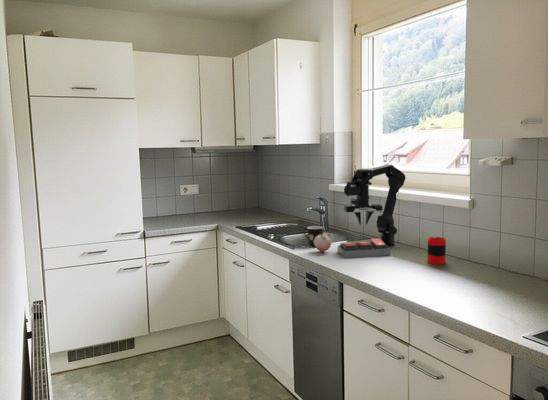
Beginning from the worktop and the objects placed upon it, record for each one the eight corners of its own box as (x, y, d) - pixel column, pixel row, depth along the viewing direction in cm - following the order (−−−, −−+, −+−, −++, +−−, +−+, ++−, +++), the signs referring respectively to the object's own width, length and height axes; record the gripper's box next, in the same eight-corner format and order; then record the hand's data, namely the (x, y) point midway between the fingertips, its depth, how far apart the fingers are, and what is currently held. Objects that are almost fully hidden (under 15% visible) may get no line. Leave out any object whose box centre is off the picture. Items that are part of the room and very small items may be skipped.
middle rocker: (365, 244, 234) (365, 241, 234) (370, 244, 226) (370, 242, 226) (356, 244, 234) (356, 242, 234) (361, 245, 226) (361, 242, 226)
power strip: (381, 249, 238) (381, 240, 237) (390, 255, 226) (390, 245, 226) (337, 252, 235) (337, 242, 235) (344, 258, 223) (344, 248, 223)
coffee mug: (326, 246, 248) (326, 228, 247) (311, 248, 245) (311, 229, 244) (316, 242, 259) (316, 224, 257) (302, 244, 256) (302, 226, 254)
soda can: (430, 265, 208) (430, 238, 206) (425, 260, 215) (425, 235, 214) (447, 264, 208) (448, 238, 206) (442, 260, 215) (442, 234, 213)
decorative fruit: (334, 253, 234) (334, 233, 232) (320, 255, 230) (320, 235, 229) (325, 249, 242) (324, 230, 241) (311, 251, 239) (310, 232, 237)
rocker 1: (350, 245, 233) (350, 242, 233) (355, 245, 225) (355, 243, 226) (342, 245, 233) (341, 242, 233) (346, 246, 225) (346, 243, 225)
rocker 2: (379, 240, 235) (379, 238, 235) (385, 246, 228) (385, 244, 227) (371, 241, 235) (371, 238, 234) (376, 247, 227) (376, 244, 227)
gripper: (375, 191, 244) (375, 221, 246) (340, 193, 242) (340, 222, 244) (382, 194, 233) (382, 224, 235) (346, 195, 231) (346, 226, 233)
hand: (363, 224), depth 237 cm, fingers open, 3 cm apart
